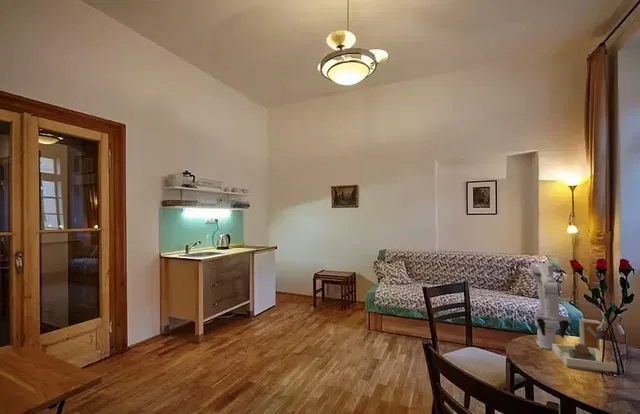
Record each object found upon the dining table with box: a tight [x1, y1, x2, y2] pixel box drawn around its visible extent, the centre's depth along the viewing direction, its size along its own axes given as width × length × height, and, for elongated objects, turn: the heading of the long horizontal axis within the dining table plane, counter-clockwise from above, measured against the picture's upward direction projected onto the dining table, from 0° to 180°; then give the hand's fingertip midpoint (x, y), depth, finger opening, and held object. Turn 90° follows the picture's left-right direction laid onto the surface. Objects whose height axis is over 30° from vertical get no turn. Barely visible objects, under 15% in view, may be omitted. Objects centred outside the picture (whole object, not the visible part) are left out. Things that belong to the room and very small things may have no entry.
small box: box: [578, 318, 602, 349], centre depth 166 cm, size 8×6×13 cm
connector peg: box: [574, 342, 589, 356], centre depth 147 cm, size 4×4×7 cm
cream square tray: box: [551, 343, 618, 373], centre depth 147 cm, size 18×18×4 cm
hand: (552, 335), depth 152 cm, fingers open, 7 cm apart
